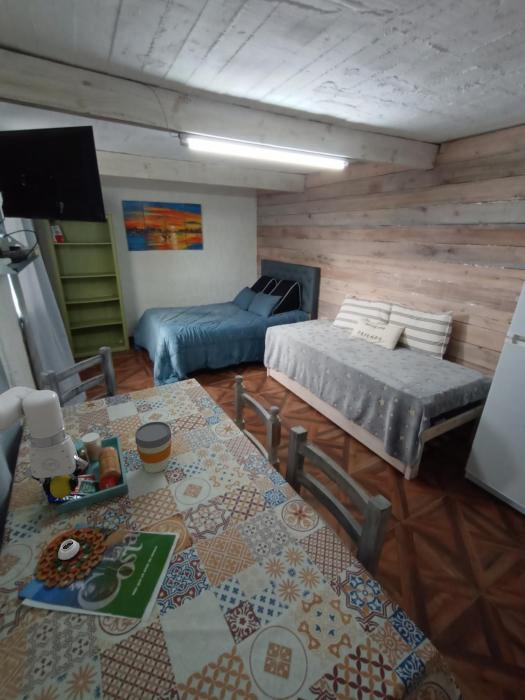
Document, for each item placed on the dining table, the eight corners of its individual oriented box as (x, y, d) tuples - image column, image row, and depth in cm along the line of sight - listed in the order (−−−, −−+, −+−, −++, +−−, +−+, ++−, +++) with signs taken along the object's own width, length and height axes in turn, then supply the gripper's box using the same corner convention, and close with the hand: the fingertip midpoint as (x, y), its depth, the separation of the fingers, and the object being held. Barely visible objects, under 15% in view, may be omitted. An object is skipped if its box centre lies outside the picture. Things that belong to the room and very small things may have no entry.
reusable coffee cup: (131, 471, 115) (126, 437, 110) (152, 450, 127) (148, 418, 121) (161, 479, 112) (157, 445, 107) (180, 457, 123) (177, 424, 118)
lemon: (79, 494, 91) (74, 472, 88) (59, 507, 87) (53, 485, 84) (68, 486, 94) (63, 464, 91) (48, 499, 89) (42, 476, 86)
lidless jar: (77, 540, 90) (57, 550, 87) (75, 532, 89) (54, 542, 86) (81, 553, 86) (60, 564, 83) (79, 545, 85) (58, 556, 82)
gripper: (4, 449, 77) (21, 505, 84) (81, 440, 81) (92, 494, 88) (18, 431, 84) (33, 484, 90) (89, 424, 88) (98, 475, 95)
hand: (62, 488), depth 89 cm, fingers closed on lemon, 5 cm apart
